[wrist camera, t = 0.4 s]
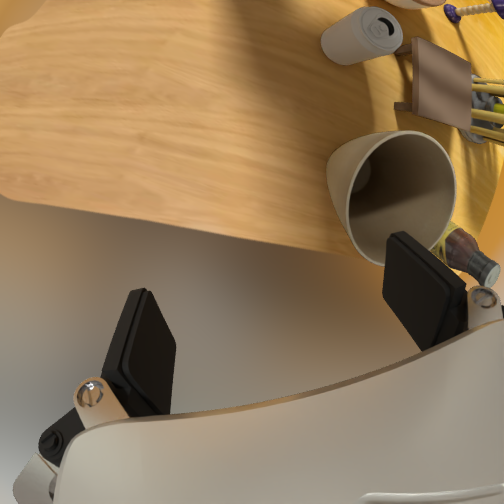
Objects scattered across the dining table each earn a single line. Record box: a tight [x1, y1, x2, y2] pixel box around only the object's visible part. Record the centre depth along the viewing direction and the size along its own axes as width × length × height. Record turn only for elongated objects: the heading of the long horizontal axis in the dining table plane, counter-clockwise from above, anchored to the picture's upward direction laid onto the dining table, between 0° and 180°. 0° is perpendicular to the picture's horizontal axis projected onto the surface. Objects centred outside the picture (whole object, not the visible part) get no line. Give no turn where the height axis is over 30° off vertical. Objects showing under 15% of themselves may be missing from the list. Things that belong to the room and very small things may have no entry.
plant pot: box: [326, 131, 456, 267], centre depth 32 cm, size 15×15×16 cm
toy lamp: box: [444, 0, 504, 23], centre depth 18 cm, size 5×5×17 cm
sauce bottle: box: [430, 221, 500, 288], centre depth 35 cm, size 6×6×20 cm
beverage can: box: [321, 7, 403, 65], centre depth 25 cm, size 6×6×12 cm
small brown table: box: [394, 37, 472, 132], centre depth 30 cm, size 12×12×7 cm
